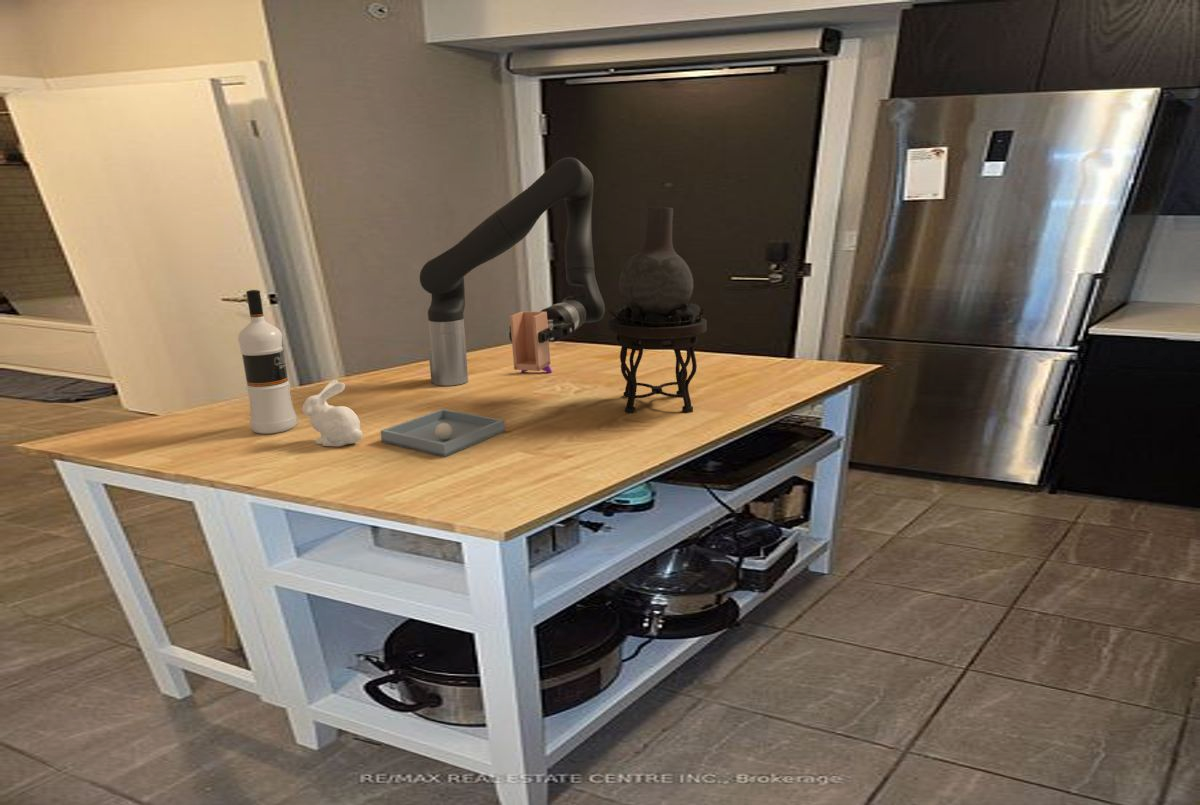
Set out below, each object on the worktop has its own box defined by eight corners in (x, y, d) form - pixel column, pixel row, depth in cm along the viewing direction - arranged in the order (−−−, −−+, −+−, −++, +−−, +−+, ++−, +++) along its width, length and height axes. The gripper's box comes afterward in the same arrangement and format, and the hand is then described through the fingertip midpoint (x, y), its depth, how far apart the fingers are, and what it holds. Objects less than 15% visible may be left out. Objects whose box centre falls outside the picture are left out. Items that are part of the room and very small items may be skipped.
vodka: (251, 425, 149) (228, 289, 141) (297, 419, 153) (277, 286, 144) (251, 437, 141) (226, 293, 132) (299, 431, 145) (278, 290, 136)
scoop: (514, 369, 137) (509, 316, 134) (526, 362, 142) (522, 311, 139) (539, 370, 136) (535, 316, 132) (550, 363, 141) (546, 311, 137)
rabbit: (302, 444, 136) (293, 387, 133) (335, 430, 144) (328, 376, 141) (349, 451, 132) (341, 392, 128) (381, 436, 140) (374, 380, 137)
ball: (434, 424, 136) (448, 417, 136) (443, 437, 138) (457, 430, 137) (429, 432, 133) (443, 424, 133) (439, 445, 134) (453, 438, 134)
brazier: (598, 413, 153) (594, 207, 140) (622, 389, 173) (620, 207, 161) (697, 420, 147) (702, 205, 134) (709, 393, 168) (714, 205, 155)
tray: (381, 442, 136) (380, 430, 136) (444, 419, 151) (443, 408, 150) (445, 457, 127) (444, 444, 127) (505, 431, 142) (504, 420, 141)
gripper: (527, 304, 151) (492, 318, 136) (587, 305, 147) (557, 319, 132) (529, 337, 154) (495, 354, 138) (588, 338, 149) (560, 357, 134)
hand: (525, 337), depth 135 cm, fingers closed on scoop, 5 cm apart
